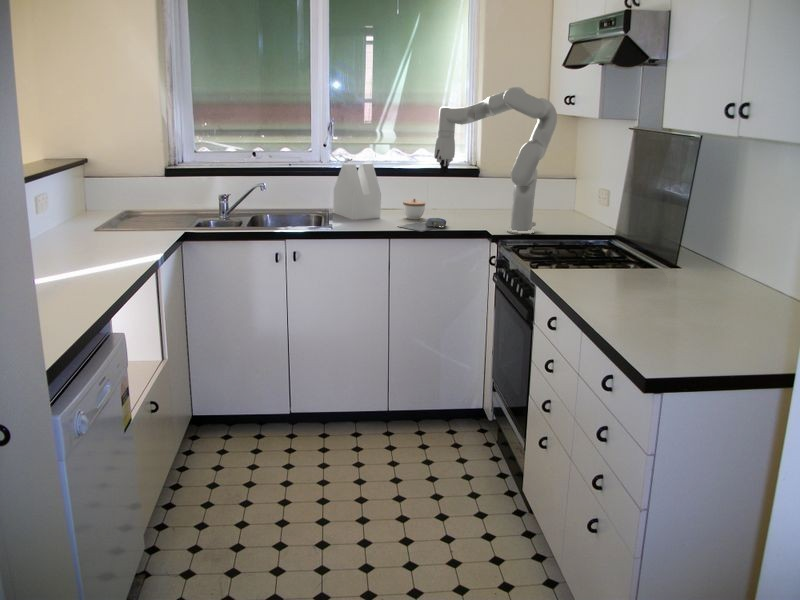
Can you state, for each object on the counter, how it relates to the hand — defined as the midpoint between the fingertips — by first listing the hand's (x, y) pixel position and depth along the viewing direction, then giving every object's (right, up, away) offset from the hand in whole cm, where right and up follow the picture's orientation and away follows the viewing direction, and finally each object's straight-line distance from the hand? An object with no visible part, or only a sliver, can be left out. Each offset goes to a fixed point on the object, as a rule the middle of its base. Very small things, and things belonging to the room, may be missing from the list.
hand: (443, 174), depth 379 cm
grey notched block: (-42, -17, +18) cm, 49 cm away
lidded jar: (-14, -19, +17) cm, 29 cm away
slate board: (-11, -25, -5) cm, 28 cm away
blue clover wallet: (-3, -22, +2) cm, 22 cm away
